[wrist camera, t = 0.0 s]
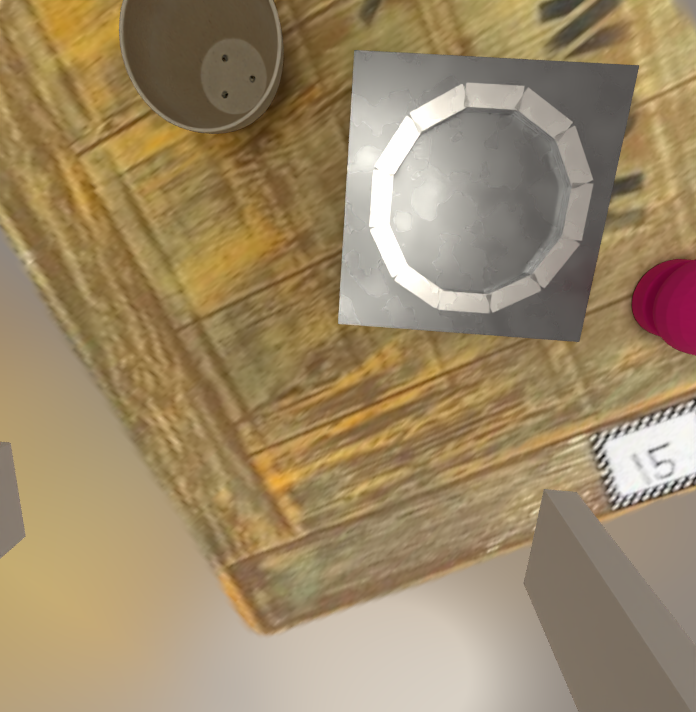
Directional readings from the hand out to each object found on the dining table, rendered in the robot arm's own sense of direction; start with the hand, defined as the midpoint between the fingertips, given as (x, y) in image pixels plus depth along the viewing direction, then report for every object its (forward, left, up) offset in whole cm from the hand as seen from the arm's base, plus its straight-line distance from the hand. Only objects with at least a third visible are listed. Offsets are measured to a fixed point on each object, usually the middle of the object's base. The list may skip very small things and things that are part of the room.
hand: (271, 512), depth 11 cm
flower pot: (-17, -9, -28) cm, 34 cm away
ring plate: (-9, +10, -28) cm, 31 cm away
